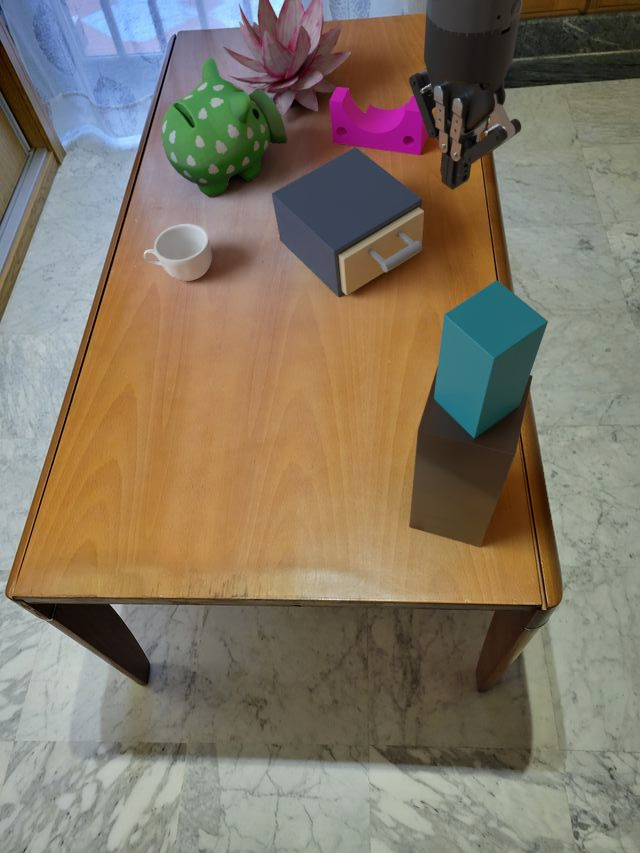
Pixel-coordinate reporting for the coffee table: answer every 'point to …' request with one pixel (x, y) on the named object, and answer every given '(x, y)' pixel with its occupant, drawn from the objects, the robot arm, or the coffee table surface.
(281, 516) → the coffee table surface
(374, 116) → the toy block
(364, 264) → the drawer
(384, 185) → the cabinet
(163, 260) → the teacup
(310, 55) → the decorative flower
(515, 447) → the stand
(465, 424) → the block
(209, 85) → the piggy bank
